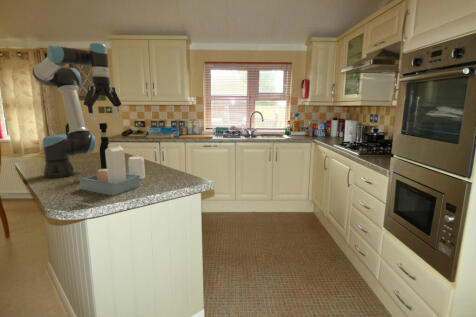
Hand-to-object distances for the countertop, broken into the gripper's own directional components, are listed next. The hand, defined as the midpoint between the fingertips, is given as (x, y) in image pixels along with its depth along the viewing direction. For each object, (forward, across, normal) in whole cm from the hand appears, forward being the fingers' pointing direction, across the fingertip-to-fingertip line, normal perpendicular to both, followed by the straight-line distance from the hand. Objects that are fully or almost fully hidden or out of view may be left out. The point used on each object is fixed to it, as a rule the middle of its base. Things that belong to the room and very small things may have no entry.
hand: (105, 119), depth 140 cm
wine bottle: (+33, +8, +12) cm, 36 cm away
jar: (+32, -9, -6) cm, 34 cm away
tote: (+33, -10, -12) cm, 36 cm away
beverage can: (+33, +9, -10) cm, 36 cm away
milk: (+32, -10, -17) cm, 38 cm away
